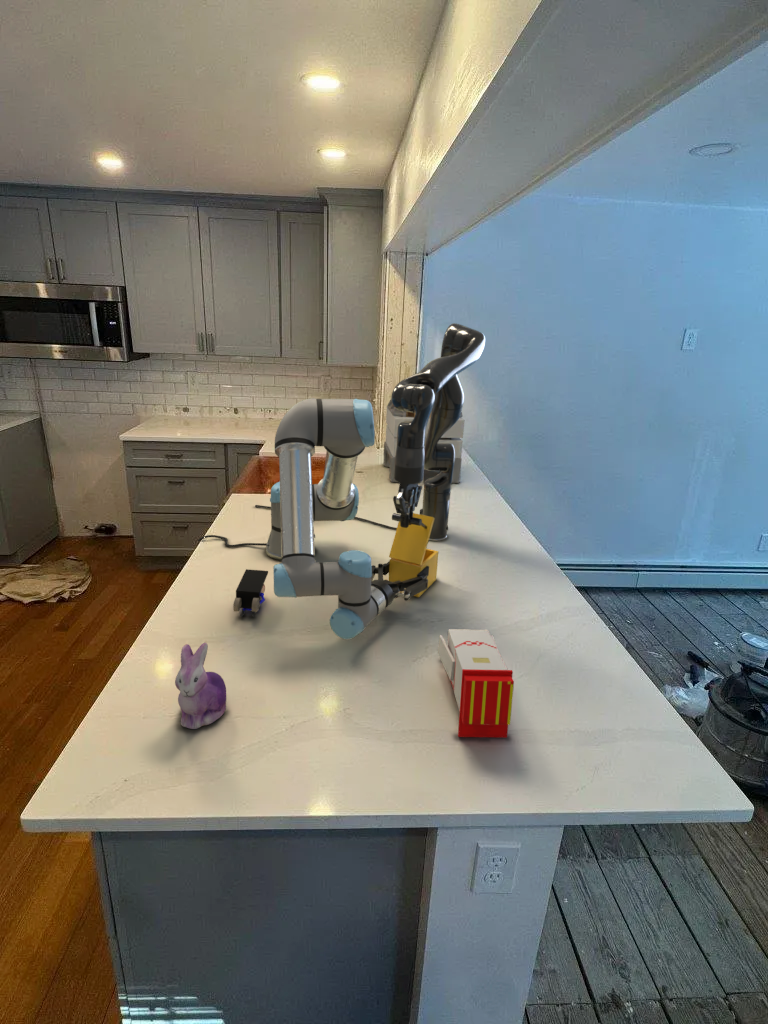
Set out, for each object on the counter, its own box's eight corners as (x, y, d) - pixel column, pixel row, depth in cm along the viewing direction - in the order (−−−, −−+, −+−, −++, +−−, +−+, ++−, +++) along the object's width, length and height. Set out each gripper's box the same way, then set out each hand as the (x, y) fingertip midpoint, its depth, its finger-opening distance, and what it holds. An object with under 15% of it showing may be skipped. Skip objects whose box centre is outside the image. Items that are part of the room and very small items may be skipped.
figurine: (182, 738, 102) (175, 668, 97) (173, 704, 111) (167, 638, 106) (234, 723, 106) (231, 655, 101) (222, 691, 115) (218, 627, 110)
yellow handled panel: (403, 511, 160) (392, 503, 152) (434, 518, 156) (425, 510, 148) (390, 557, 158) (378, 551, 150) (421, 565, 154) (411, 559, 146)
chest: (407, 572, 171) (408, 544, 168) (436, 579, 167) (438, 551, 164) (388, 589, 160) (389, 559, 157) (418, 597, 156) (420, 567, 153)
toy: (488, 613, 130) (523, 677, 101) (484, 667, 133) (517, 744, 104) (435, 612, 130) (455, 676, 101) (432, 666, 133) (451, 743, 103)
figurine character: (260, 625, 142) (270, 591, 155) (258, 600, 138) (268, 567, 152) (233, 624, 141) (245, 590, 155) (230, 599, 138) (243, 567, 152)
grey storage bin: (382, 463, 289) (386, 382, 275) (445, 464, 293) (451, 384, 279) (390, 482, 257) (394, 392, 243) (460, 483, 261) (468, 394, 247)
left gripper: (335, 601, 147) (375, 569, 166) (413, 624, 138) (446, 587, 156) (335, 574, 144) (376, 545, 163) (415, 596, 135) (448, 563, 154)
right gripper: (412, 471, 138) (408, 537, 144) (433, 459, 149) (429, 520, 155) (384, 466, 141) (382, 531, 147) (407, 454, 152) (404, 515, 158)
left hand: (410, 566), depth 160 cm, fingers closed on chest, 9 cm apart
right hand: (406, 525), depth 151 cm, fingers closed on yellow handled panel, 2 cm apart
